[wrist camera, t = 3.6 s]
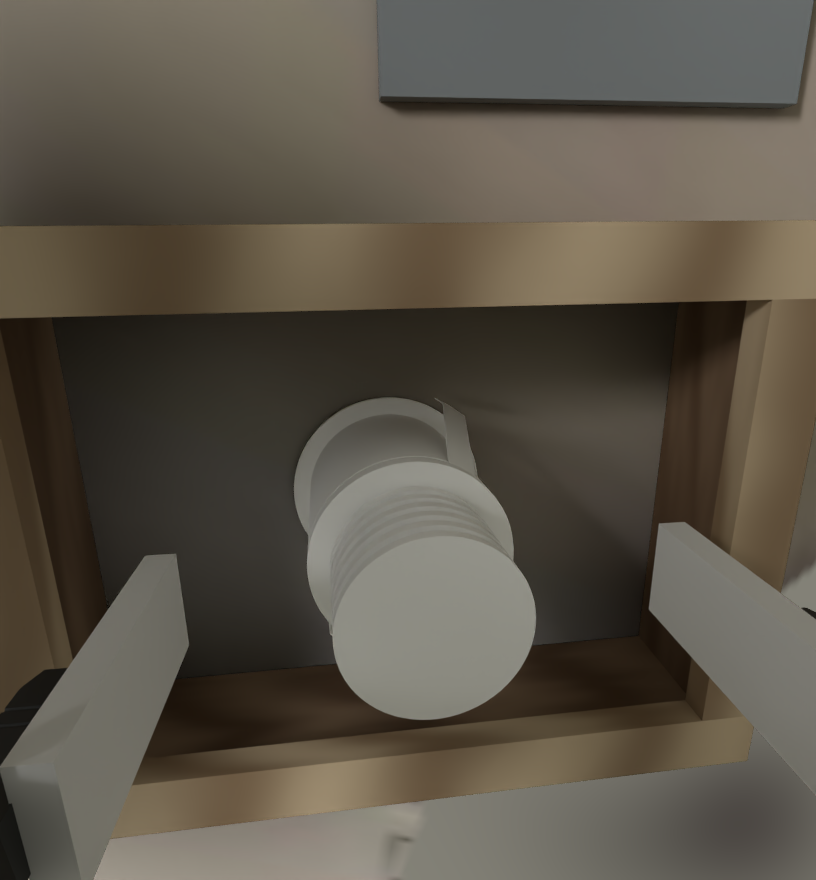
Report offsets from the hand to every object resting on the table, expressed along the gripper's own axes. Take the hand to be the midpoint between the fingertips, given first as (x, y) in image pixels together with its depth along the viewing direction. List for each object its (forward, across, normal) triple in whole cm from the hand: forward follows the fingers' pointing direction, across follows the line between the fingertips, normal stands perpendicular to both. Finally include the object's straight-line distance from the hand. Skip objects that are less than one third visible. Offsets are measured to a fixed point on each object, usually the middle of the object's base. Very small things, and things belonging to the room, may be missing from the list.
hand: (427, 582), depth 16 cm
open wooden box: (+7, 0, 0) cm, 7 cm away
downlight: (+7, 0, 0) cm, 7 cm away
